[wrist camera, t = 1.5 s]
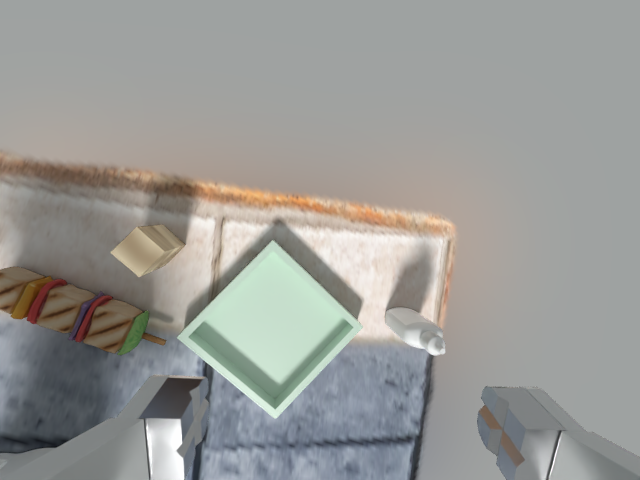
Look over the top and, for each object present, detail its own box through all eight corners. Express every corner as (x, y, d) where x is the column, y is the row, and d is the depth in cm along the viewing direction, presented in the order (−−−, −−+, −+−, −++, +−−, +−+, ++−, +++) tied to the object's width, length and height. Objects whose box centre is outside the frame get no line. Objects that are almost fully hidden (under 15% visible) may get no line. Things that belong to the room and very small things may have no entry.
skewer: (5, 302, 39) (-34, 314, 34) (25, 257, 39) (-11, 263, 34) (161, 357, 43) (147, 375, 38) (180, 316, 43) (168, 329, 38)
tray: (275, 405, 46) (275, 419, 43) (183, 329, 43) (176, 337, 40) (357, 319, 46) (363, 326, 43) (273, 238, 43) (272, 240, 41)
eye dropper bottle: (395, 296, 47) (435, 323, 35) (421, 315, 48) (470, 348, 36) (379, 319, 47) (414, 354, 35) (406, 337, 48) (449, 378, 36)
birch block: (164, 265, 42) (139, 277, 34) (141, 245, 41) (110, 252, 33) (185, 244, 42) (164, 251, 34) (163, 224, 41) (136, 226, 33)
